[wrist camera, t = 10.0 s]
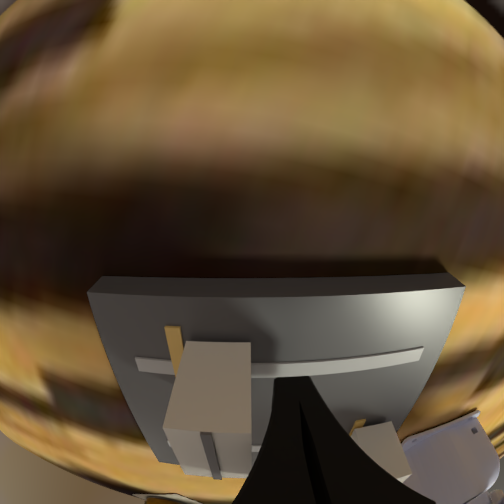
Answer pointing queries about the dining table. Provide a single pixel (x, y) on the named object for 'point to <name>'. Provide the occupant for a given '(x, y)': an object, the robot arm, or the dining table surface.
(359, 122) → the dining table surface
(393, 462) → the fader far
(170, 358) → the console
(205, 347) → the fader near
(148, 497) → the condiment
